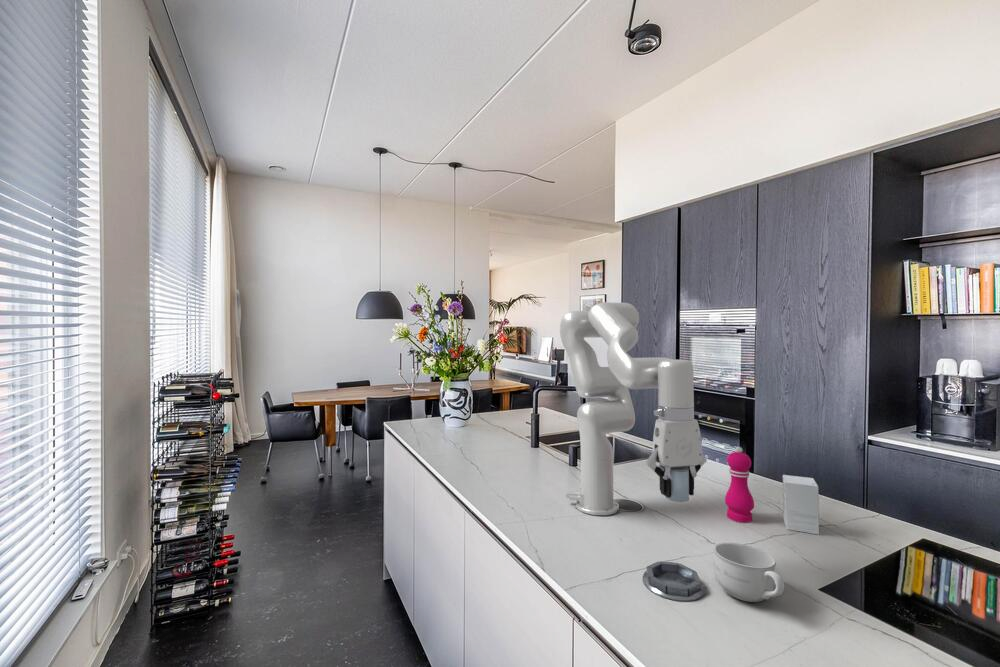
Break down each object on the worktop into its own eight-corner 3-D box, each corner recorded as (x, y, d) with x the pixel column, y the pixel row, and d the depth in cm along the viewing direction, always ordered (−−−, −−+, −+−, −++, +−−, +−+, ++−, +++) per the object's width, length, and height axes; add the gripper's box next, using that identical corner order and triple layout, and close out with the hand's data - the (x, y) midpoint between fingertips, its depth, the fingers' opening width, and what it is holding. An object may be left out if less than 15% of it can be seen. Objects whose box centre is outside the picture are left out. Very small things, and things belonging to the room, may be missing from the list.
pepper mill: (758, 524, 119) (757, 450, 119) (729, 522, 121) (729, 449, 121) (749, 513, 126) (748, 444, 126) (721, 512, 128) (721, 443, 128)
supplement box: (814, 524, 119) (814, 477, 119) (819, 535, 113) (819, 486, 113) (782, 519, 123) (782, 473, 123) (785, 529, 116) (784, 481, 116)
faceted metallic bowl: (646, 597, 87) (646, 587, 87) (639, 566, 98) (639, 557, 98) (711, 604, 84) (711, 594, 84) (697, 571, 96) (697, 562, 96)
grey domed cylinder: (673, 502, 97) (673, 470, 97) (661, 494, 102) (660, 464, 102) (693, 500, 98) (693, 469, 98) (680, 493, 103) (680, 463, 103)
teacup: (703, 579, 93) (703, 541, 93) (752, 576, 94) (752, 539, 94) (745, 622, 79) (745, 577, 79) (802, 618, 80) (802, 574, 80)
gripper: (650, 418, 95) (651, 503, 94) (720, 415, 98) (721, 497, 98) (633, 412, 102) (634, 491, 102) (698, 409, 105) (699, 486, 105)
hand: (677, 493), depth 100 cm, fingers closed on grey domed cylinder, 5 cm apart
